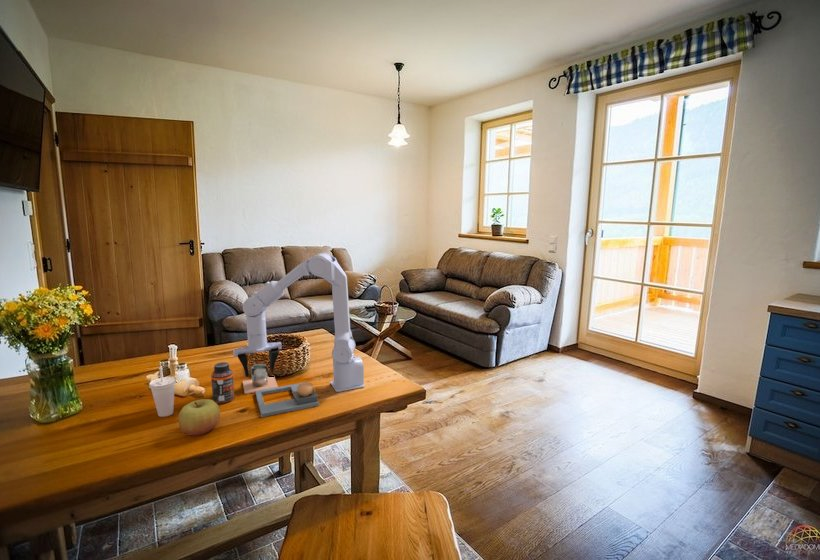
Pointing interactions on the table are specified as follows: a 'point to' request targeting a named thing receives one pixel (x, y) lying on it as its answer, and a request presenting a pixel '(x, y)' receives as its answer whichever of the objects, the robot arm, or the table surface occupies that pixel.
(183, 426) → the apple
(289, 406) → the housing
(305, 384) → the plunger
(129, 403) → the table surface
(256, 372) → the cartridge
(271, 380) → the coaster
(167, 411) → the smoothie
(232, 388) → the supplement bottle
